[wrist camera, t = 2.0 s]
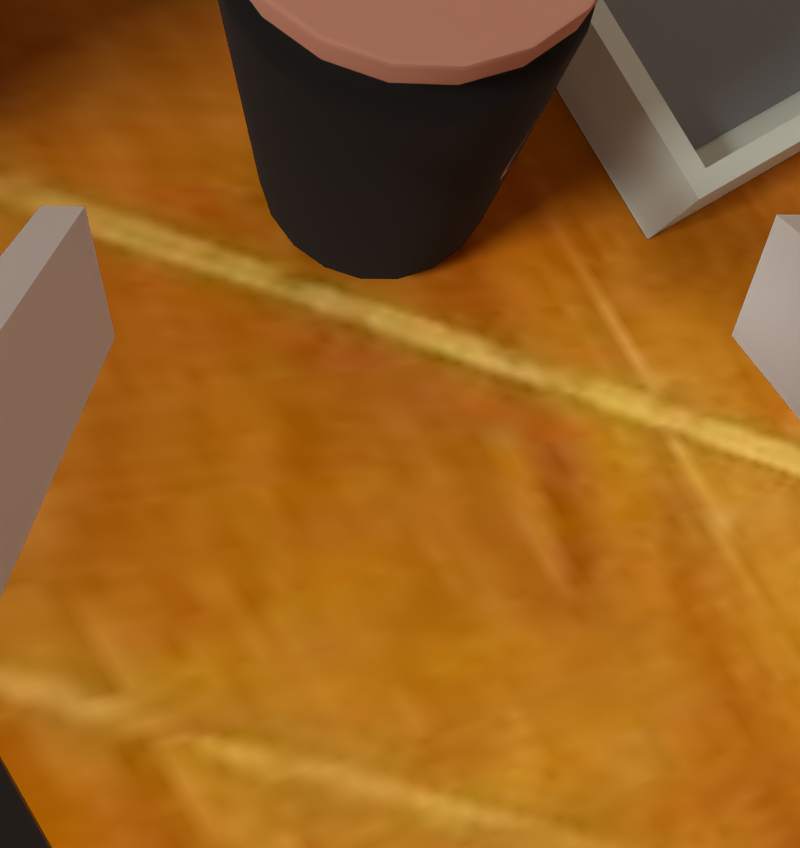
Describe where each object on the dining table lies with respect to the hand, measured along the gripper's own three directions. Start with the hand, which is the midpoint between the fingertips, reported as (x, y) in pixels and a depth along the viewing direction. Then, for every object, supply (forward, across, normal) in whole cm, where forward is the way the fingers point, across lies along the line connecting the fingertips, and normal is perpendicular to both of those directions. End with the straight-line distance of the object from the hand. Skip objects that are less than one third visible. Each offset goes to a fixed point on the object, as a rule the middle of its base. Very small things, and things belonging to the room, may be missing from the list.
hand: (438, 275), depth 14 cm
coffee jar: (+21, 0, -6) cm, 22 cm away
